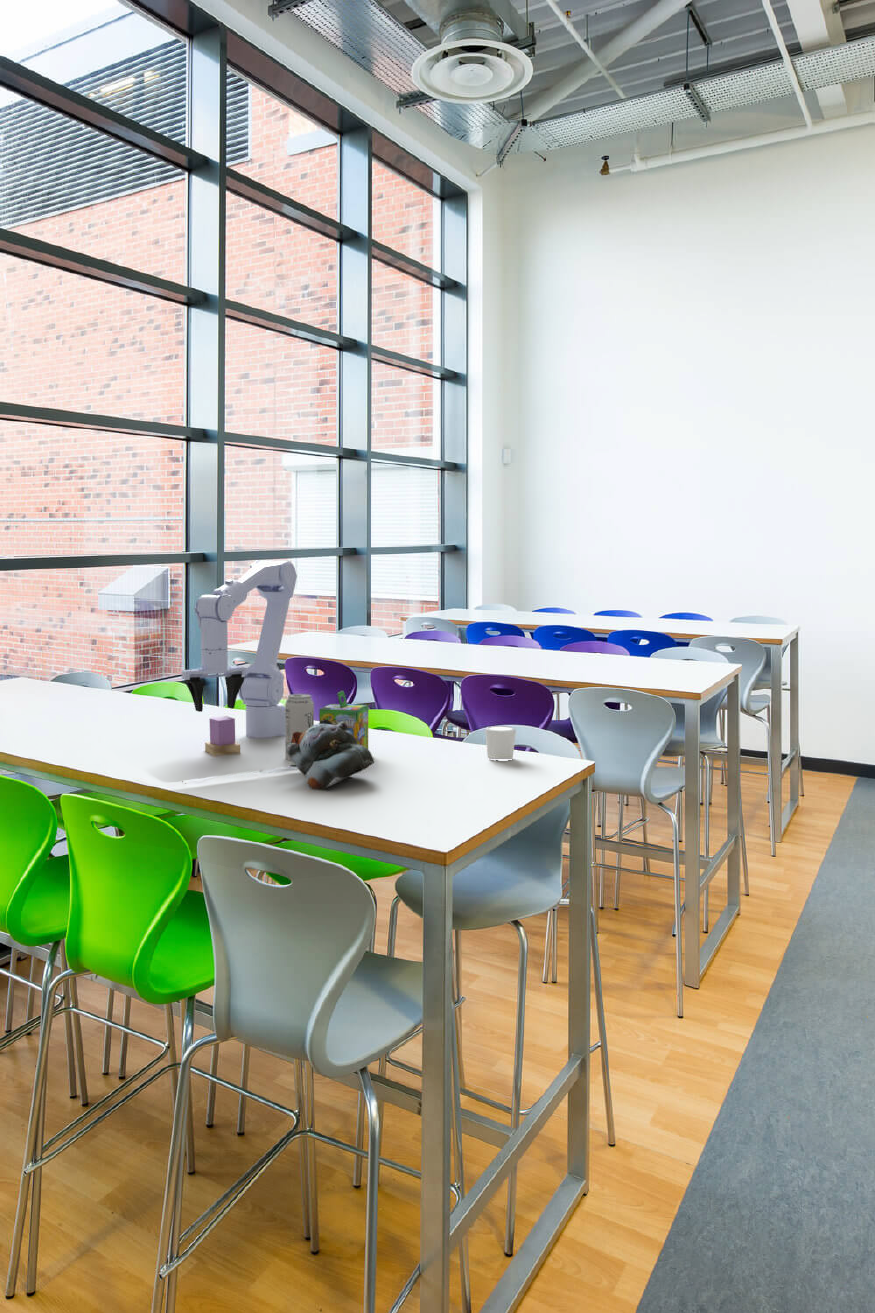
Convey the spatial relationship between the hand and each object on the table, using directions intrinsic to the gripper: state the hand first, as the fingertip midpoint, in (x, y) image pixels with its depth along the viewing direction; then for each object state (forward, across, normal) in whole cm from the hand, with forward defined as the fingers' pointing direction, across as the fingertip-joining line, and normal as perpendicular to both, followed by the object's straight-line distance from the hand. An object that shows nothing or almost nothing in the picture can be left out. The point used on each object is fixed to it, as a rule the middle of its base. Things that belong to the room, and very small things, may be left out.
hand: (215, 709), depth 200 cm
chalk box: (+11, -22, +18) cm, 31 cm away
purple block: (+7, 0, +4) cm, 8 cm away
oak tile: (+9, 0, +4) cm, 10 cm away
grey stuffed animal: (+10, -7, +36) cm, 39 cm away
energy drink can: (+10, -10, +19) cm, 24 cm away
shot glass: (+11, -50, +40) cm, 65 cm away
